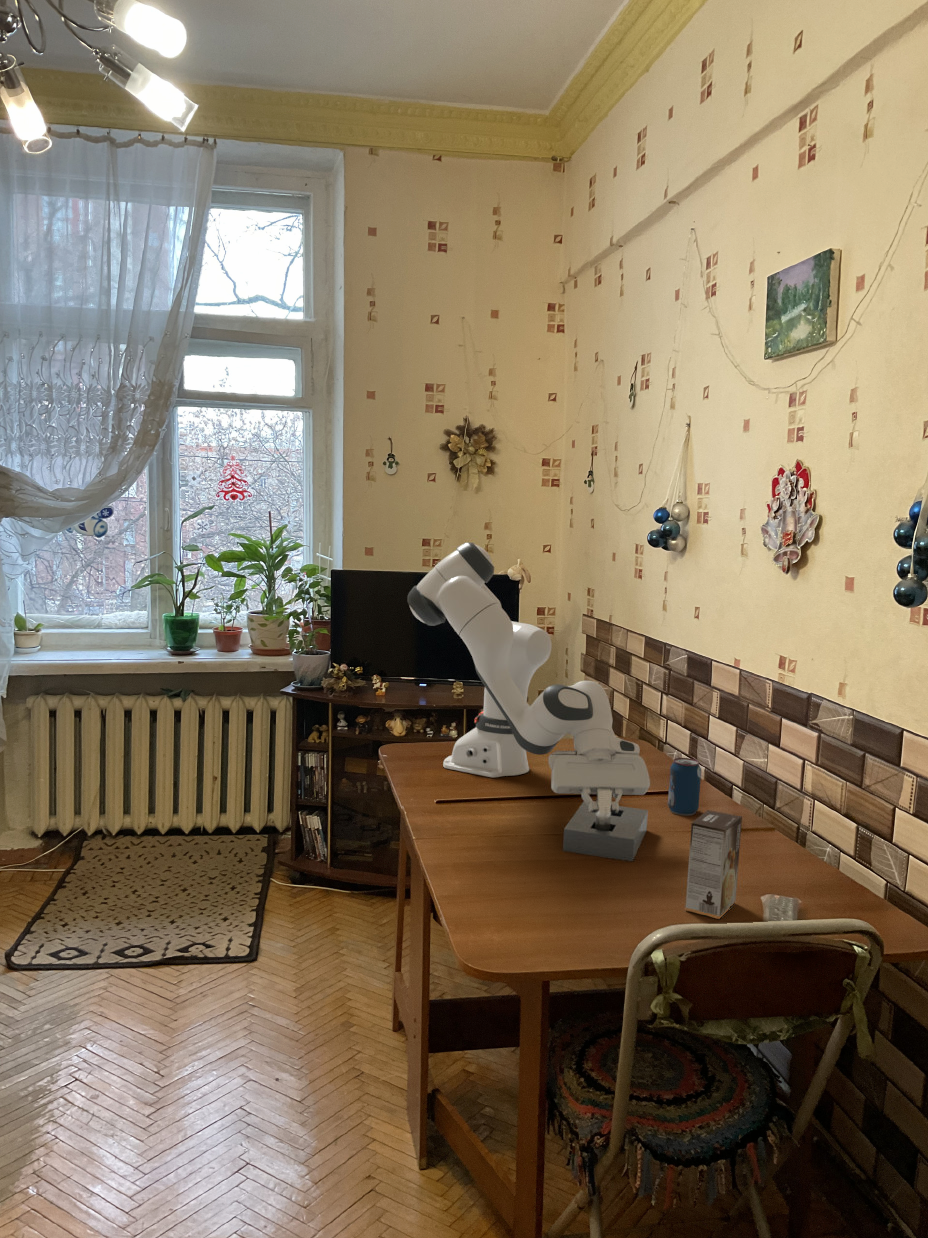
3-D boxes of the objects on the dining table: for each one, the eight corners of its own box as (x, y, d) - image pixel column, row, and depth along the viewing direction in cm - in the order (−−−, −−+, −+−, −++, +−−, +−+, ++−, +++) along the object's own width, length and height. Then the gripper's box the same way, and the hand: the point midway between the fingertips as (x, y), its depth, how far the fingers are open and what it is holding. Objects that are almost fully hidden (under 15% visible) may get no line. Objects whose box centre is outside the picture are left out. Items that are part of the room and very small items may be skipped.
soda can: (703, 812, 219) (707, 761, 217) (688, 818, 214) (692, 766, 212) (677, 804, 224) (680, 755, 222) (661, 811, 218) (665, 760, 217)
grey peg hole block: (562, 850, 190) (564, 829, 190) (582, 820, 209) (583, 801, 208) (632, 861, 186) (634, 839, 185) (646, 830, 205) (647, 810, 204)
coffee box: (701, 894, 171) (707, 808, 169) (736, 903, 168) (743, 816, 166) (684, 911, 163) (690, 821, 162) (720, 921, 160) (728, 829, 158)
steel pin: (593, 838, 191) (596, 790, 190) (595, 834, 194) (598, 786, 193) (607, 841, 190) (611, 792, 189) (610, 836, 193) (613, 788, 192)
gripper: (550, 743, 196) (556, 803, 187) (646, 745, 198) (656, 805, 189) (545, 758, 201) (550, 818, 192) (639, 760, 203) (648, 819, 194)
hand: (604, 811), depth 191 cm, fingers closed on steel pin, 3 cm apart
